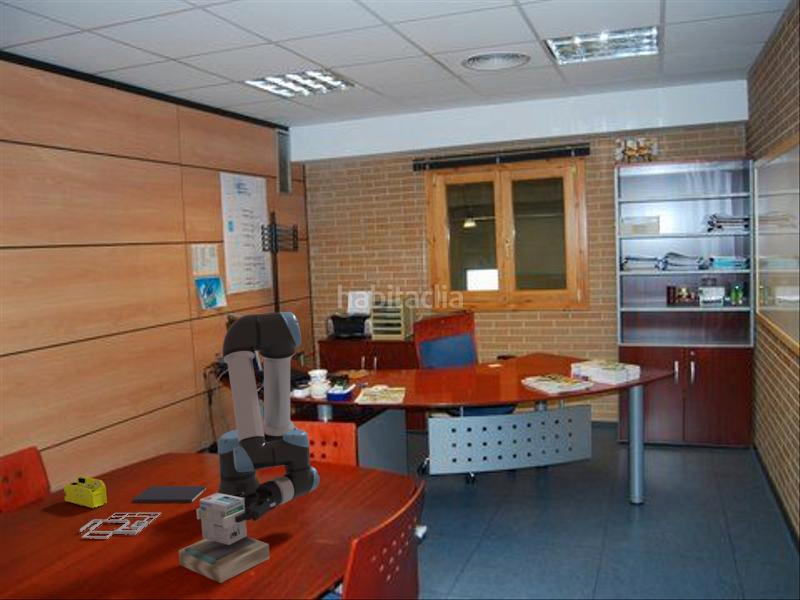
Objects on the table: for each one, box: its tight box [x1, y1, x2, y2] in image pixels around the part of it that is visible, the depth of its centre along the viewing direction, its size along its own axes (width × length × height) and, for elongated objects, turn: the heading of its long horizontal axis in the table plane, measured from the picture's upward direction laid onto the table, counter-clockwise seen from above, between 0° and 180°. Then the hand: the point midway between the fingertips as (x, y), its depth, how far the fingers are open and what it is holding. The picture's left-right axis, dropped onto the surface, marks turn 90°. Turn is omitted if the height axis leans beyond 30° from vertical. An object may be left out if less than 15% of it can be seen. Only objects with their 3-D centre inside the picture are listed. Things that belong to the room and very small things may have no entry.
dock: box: [178, 535, 271, 584], centre depth 183 cm, size 18×16×5 cm
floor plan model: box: [79, 512, 162, 540], centre depth 207 cm, size 19×25×2 cm
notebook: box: [132, 485, 207, 503], centre depth 236 cm, size 13×2×21 cm
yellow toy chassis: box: [63, 475, 108, 509], centre depth 231 cm, size 16×6×8 cm, turn 59°
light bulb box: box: [199, 492, 248, 545], centre depth 182 cm, size 11×7×11 cm, turn 57°
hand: (210, 518), depth 179 cm, fingers closed on light bulb box, 11 cm apart
